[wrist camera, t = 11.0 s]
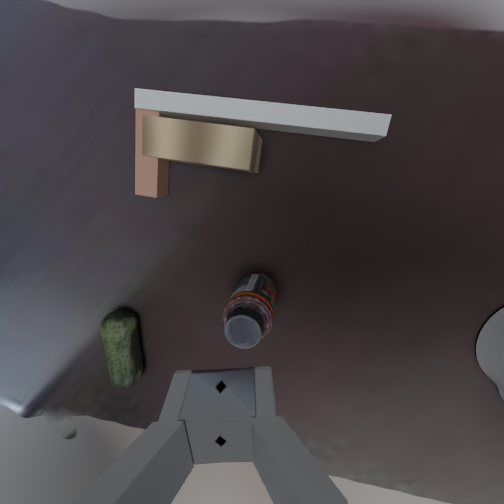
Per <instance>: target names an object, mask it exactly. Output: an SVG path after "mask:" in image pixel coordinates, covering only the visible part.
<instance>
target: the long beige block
mask: <svg viewBox="0 0 504 504" xmlns="http://www.w3.org/2000/svg"><path fill="white" fill-rule="evenodd" d="M261 147H262V139H261V137H260V136H259V134H258V133H257V131H256V130H255V129H254V128H246V127H238V126H230V125H222V124H213V123H205V122H197V121H189V120H181V119H172V118H164V117H156V116H148V115H143V122H142V155H144V156H149V157H154V158H159V159H165V160H170V161H176V162H183V163H190V164H197V165H204V166H211V167H218V168H226V169H233V170H240V171H247V172H254V173H258V169H259V162H260V155H261Z"/></svg>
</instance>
